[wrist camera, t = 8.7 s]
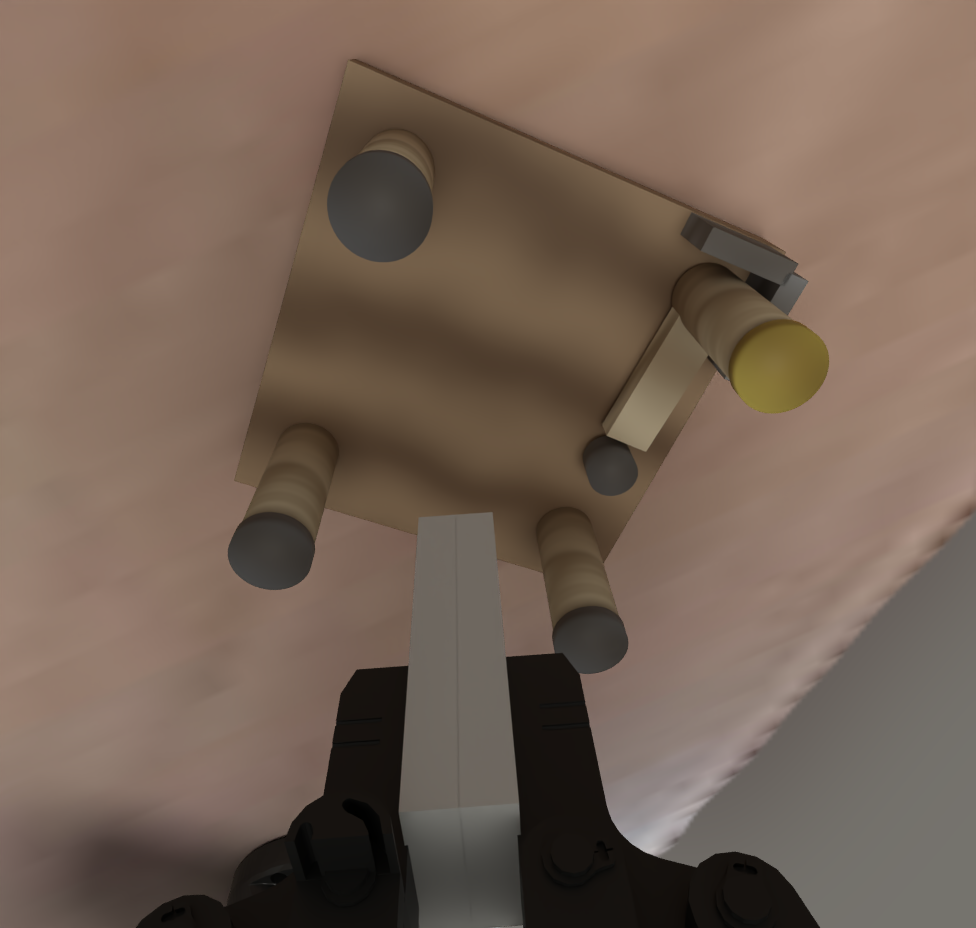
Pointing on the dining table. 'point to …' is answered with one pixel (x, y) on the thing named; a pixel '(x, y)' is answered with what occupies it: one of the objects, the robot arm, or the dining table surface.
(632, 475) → the swing leg
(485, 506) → the stool seat
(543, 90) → the dining table surface
